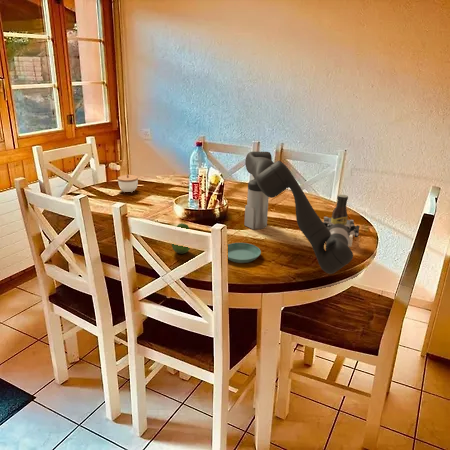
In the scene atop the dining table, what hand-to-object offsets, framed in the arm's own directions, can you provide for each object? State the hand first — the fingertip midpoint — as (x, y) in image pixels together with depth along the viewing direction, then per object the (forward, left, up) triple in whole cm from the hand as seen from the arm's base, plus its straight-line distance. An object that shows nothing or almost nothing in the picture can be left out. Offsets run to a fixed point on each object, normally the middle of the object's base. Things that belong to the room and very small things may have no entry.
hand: (339, 222), depth 157 cm
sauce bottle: (+9, +7, -13) cm, 17 cm away
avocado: (-49, +33, -13) cm, 61 cm away
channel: (+14, +11, -13) cm, 22 cm away
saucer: (-32, +18, -13) cm, 39 cm away
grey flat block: (+26, +21, -13) cm, 36 cm away
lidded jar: (-34, +117, -13) cm, 123 cm away
